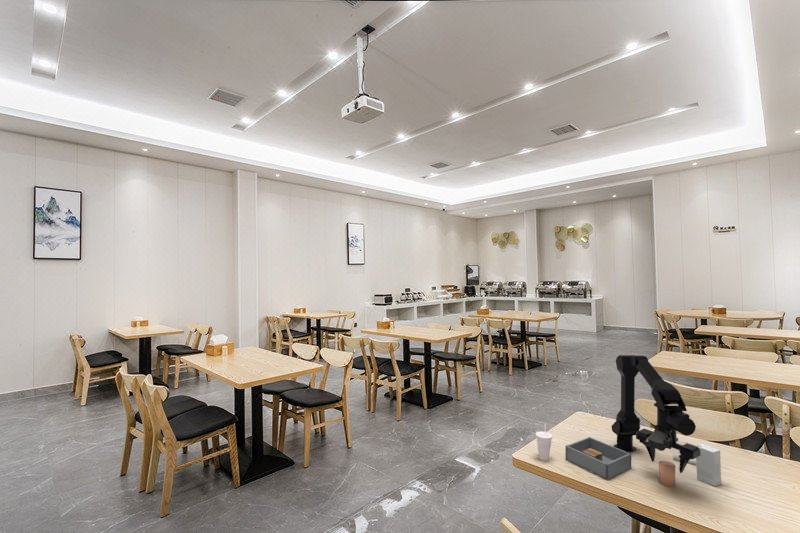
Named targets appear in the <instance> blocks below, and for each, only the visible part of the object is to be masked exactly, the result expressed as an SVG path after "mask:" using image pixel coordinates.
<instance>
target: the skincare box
mask: <svg viewBox="0 0 800 533" xmlns="http://www.w3.org/2000/svg"><path fill="white" fill-rule="evenodd" d="M696 445H697V444H696ZM697 447H698V448H699V449H700V456H698V457H697V458H696V479H697V480H699V481H702V482H704V483H706V484H707V485H708V484H709V485H711V486H714V487H718V486H720V485H722V469H721V468H722V467H721V464H722V463H721V450H720V449H718V448H715V447H713V446H709V445H706V444H704V443H701V444H698V445H697ZM719 484H720V485H719ZM717 485H718V486H717Z"/></svg>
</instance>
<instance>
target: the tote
mask: <svg viewBox="0 0 800 533" xmlns="http://www.w3.org/2000/svg"><path fill="white" fill-rule="evenodd" d="M589 448H591V449H594V450H596V451H598V452H601V453H602V461H600V460H598V459H596V458H593V457H591V456H589V455H587V454H584V453H582V451H584V450H586V449H589ZM565 461H567V462H570V463H571V464H573V465H575V466H577V467H580V468H582V469H584V470H586V471H587V472H590V473H591V474H593V475H595V476H598V477H600V478H602V479H604V480H606V481H609V480H611V479H613V478H615V477H616V476H619V475H621V474H623V473H625V472H627V471H629V470H631V469H632V453H631V452H625V451H623V450H620V449H618V448H616V447H613V445H610V444H608V443H605V442H602V441H601V440H598V439H595V438H593V437H590V436H588V437H586V438H583V439H579V440H577V441H575V442H572V443H569V444H566V445H565Z"/></svg>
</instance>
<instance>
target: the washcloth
mask: <svg viewBox="0 0 800 533" xmlns="http://www.w3.org/2000/svg"><path fill="white" fill-rule="evenodd" d="M676 443H677V444H680V445H684V444H686V443H688V444H691V445H694V446H697V444H694V443H692V442H688V441H682V440H678V441H677V442H676ZM679 455H681V454H680V453H679V450H677V449H675V448H673V456H672V459H673V460H674V461H676V462H680V458H679ZM688 464H689V465H692V466H696V458H695V459H690V460H689V461H688V463H687V465H688Z"/></svg>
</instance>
